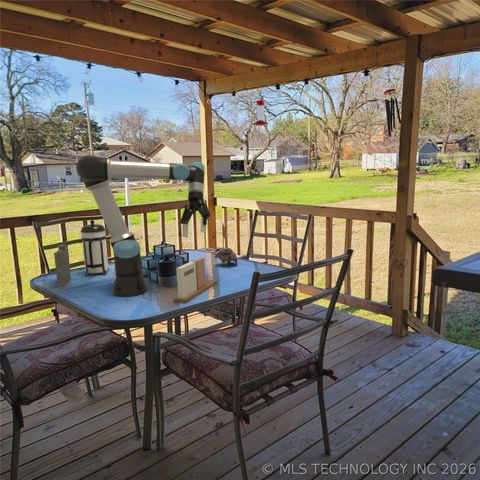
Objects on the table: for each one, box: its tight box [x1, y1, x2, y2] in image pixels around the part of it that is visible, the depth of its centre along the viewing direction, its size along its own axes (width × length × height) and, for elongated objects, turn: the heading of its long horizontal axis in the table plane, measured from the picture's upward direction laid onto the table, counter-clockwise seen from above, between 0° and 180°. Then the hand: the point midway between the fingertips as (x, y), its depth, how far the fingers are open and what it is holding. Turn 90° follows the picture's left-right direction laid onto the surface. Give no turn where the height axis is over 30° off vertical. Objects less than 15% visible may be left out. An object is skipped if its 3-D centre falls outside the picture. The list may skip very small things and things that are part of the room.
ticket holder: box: [173, 261, 219, 304], centre depth 177 cm, size 30×6×15 cm, turn 157°
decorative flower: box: [214, 247, 238, 268], centre depth 226 cm, size 15×12×15 cm
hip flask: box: [53, 244, 72, 288], centre depth 198 cm, size 16×4×20 cm, turn 11°
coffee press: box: [80, 219, 110, 277], centre depth 214 cm, size 17×16×30 cm
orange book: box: [190, 257, 206, 289], centre depth 179 cm, size 8×3×13 cm, turn 157°
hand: (193, 234), depth 188 cm, fingers open, 13 cm apart
